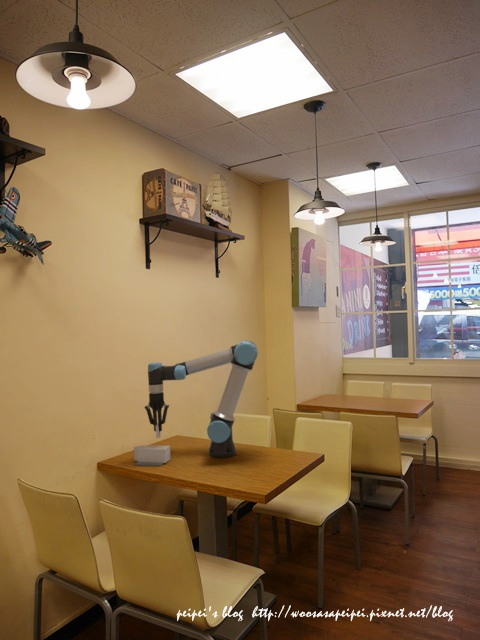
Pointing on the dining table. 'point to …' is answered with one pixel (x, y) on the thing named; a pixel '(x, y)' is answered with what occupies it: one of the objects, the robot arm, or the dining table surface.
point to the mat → (147, 464)
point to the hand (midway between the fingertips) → (158, 437)
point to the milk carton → (152, 454)
